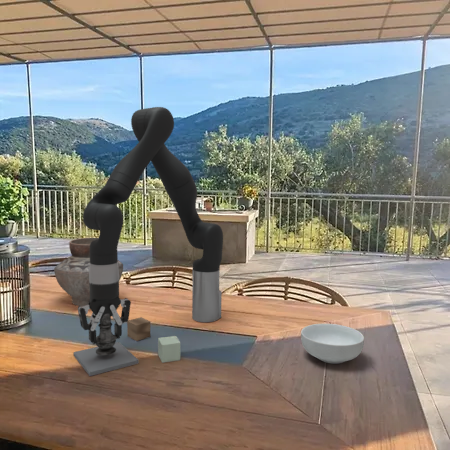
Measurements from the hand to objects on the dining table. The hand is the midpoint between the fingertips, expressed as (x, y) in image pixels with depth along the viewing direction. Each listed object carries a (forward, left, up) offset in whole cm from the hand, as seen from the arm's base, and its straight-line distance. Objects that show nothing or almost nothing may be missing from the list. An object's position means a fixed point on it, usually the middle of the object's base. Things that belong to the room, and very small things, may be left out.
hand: (105, 340), depth 115 cm
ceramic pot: (-12, -51, -6) cm, 53 cm away
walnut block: (-14, -10, -6) cm, 18 cm away
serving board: (0, 0, -5) cm, 5 cm away
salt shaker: (0, 0, -3) cm, 3 cm away
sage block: (-15, +8, -6) cm, 18 cm away
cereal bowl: (-53, +32, -6) cm, 62 cm away
